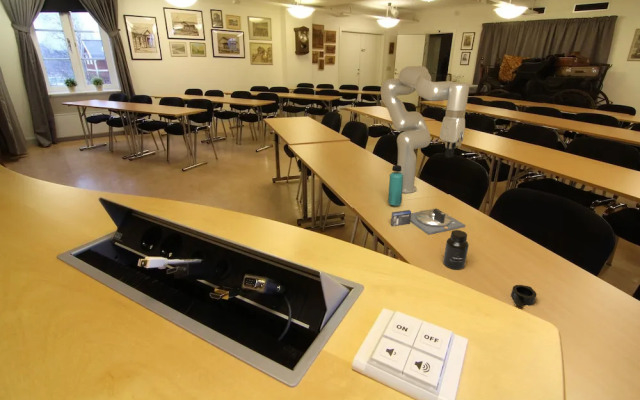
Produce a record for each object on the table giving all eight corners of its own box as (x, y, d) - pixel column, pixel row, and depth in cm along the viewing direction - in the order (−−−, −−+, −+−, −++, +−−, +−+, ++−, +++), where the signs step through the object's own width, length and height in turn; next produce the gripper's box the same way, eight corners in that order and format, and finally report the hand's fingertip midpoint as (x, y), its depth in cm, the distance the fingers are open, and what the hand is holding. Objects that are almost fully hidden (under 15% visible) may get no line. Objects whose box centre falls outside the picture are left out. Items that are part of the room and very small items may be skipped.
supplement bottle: (453, 272, 104) (459, 240, 99) (438, 261, 110) (443, 230, 105) (469, 267, 107) (475, 235, 102) (453, 257, 112) (458, 226, 108)
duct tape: (497, 293, 94) (499, 285, 93) (526, 288, 96) (528, 280, 95) (518, 311, 88) (520, 303, 86) (548, 305, 90) (550, 297, 88)
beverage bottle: (401, 209, 151) (405, 168, 143) (387, 208, 152) (389, 167, 144) (401, 203, 156) (404, 164, 149) (387, 202, 158) (389, 163, 150)
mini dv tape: (392, 226, 135) (393, 213, 132) (390, 225, 136) (391, 212, 134) (410, 224, 136) (411, 211, 134) (408, 222, 138) (409, 209, 136)
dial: (410, 214, 142) (411, 203, 140) (438, 210, 145) (439, 199, 143) (427, 228, 129) (429, 216, 127) (457, 224, 133) (459, 212, 130)
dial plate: (403, 216, 143) (403, 214, 142) (436, 210, 148) (436, 208, 148) (428, 234, 127) (428, 232, 127) (464, 227, 133) (465, 224, 132)
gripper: (436, 112, 139) (431, 153, 146) (460, 117, 126) (453, 162, 133) (450, 111, 141) (444, 152, 148) (475, 116, 128) (468, 160, 135)
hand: (449, 156), depth 141 cm, fingers closed
